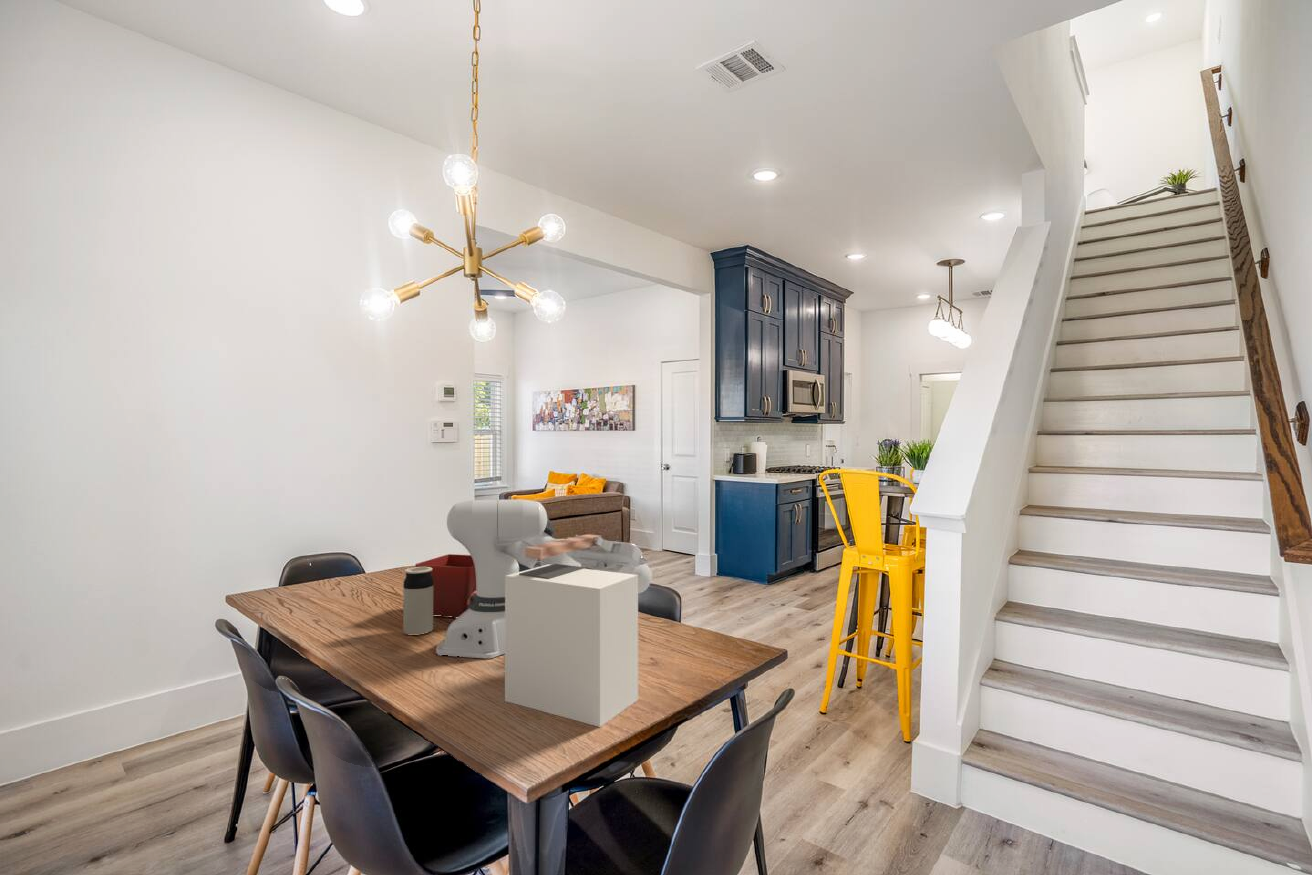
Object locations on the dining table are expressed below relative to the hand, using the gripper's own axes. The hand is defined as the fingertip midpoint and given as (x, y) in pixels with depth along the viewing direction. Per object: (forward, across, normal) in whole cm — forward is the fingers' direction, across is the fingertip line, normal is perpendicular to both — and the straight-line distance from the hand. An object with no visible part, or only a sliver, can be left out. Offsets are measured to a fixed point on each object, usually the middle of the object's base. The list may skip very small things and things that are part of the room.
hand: (586, 538), depth 139 cm
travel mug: (-18, +61, -26) cm, 69 cm away
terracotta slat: (+6, 0, -5) cm, 8 cm away
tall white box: (-4, -6, -34) cm, 35 cm away
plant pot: (-35, +66, -16) cm, 77 cm away
